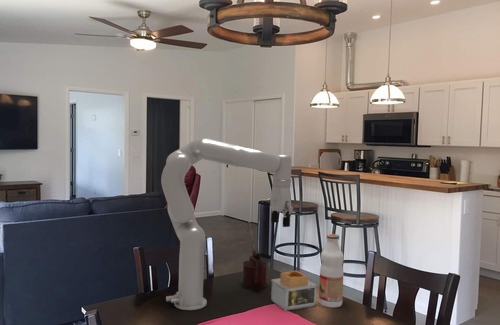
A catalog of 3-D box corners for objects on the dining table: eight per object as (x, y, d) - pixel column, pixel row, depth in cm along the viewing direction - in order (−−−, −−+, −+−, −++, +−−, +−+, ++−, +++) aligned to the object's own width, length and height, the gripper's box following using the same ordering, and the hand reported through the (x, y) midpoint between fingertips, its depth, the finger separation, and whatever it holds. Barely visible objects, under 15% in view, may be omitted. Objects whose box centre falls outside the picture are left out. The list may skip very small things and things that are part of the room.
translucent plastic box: (285, 310, 153) (286, 281, 153) (270, 299, 164) (271, 272, 164) (316, 305, 159) (317, 277, 159) (299, 295, 170) (300, 268, 170)
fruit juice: (337, 310, 156) (340, 238, 154) (315, 304, 161) (317, 235, 160) (345, 302, 163) (348, 234, 162) (324, 297, 169) (326, 231, 167)
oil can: (271, 292, 172) (273, 235, 171) (246, 293, 170) (248, 235, 169) (257, 272, 200) (259, 222, 199) (236, 273, 198) (237, 223, 197)
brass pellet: (288, 302, 160) (289, 290, 160) (288, 299, 164) (288, 287, 163) (297, 303, 160) (298, 291, 160) (296, 299, 164) (297, 287, 163)
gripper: (264, 182, 173) (263, 221, 174) (284, 186, 158) (282, 229, 158) (279, 182, 177) (278, 220, 177) (300, 185, 161) (298, 228, 161)
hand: (280, 224), depth 168 cm, fingers open, 9 cm apart
